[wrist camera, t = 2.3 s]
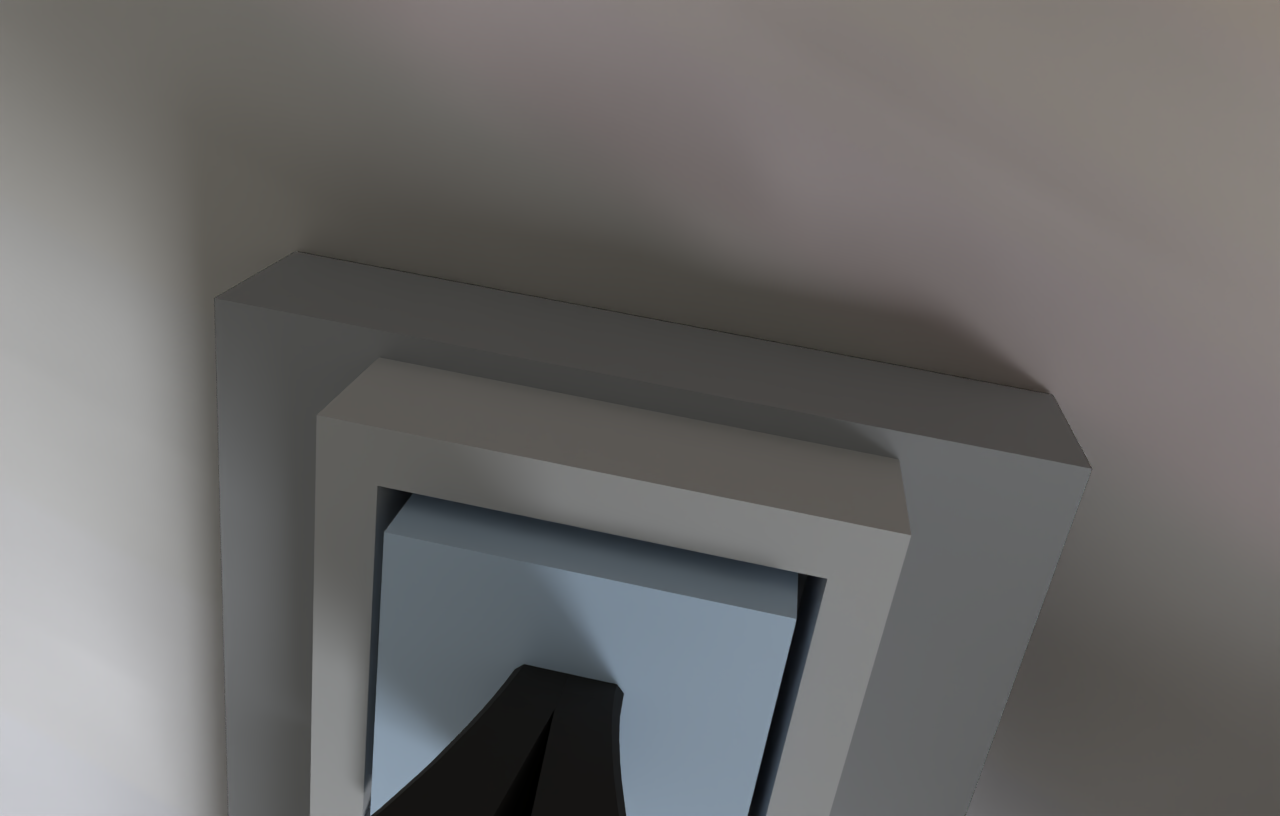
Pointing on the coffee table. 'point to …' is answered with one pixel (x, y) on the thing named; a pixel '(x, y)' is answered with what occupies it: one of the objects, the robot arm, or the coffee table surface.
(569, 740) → the robot arm
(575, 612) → the blue key
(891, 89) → the coffee table surface
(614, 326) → the key panel
